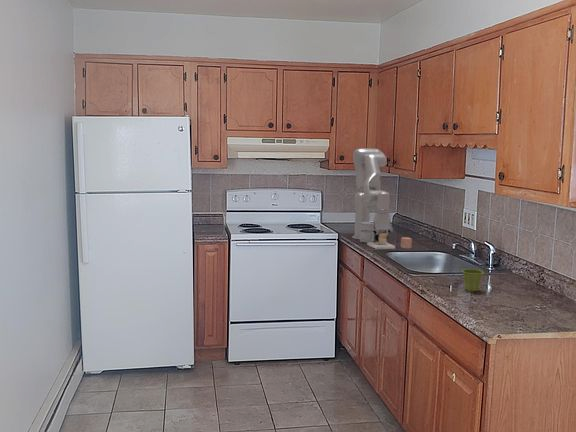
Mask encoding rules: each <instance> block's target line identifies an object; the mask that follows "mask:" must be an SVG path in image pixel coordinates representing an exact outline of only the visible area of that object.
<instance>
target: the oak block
mask: <svg viewBox="0 0 576 432" xmlns="http://www.w3.org/2000/svg"><path fill="white" fill-rule="evenodd" d="M378 235H379V238H378V241H376V240H375V242H378V243H388V239H387V233H385V231H379V233H378Z"/></svg>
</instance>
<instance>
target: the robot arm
mask: <svg viewBox="0 0 576 432" xmlns="http://www.w3.org/2000/svg"><path fill="white" fill-rule="evenodd" d="M352 162H353V164H354V165H353V166H354V168H355V182H356V183H355V184H356V188H357V189H359V190H360V191H357V192H356V193H355V195H354V204H355V211H354V212H355V214H354V215H355V218H354V219H355V220H354V235H352V236H351V238H352V239H354V240H360V231H361V223H362V222H370V217H371V214H370V213H371V212H370V210H369V208H368V206H373V207H374V206H376V213H374V217H373V222H372V223H373V226H372V227H371V230H372V231H373V232H374V241H375V242H376V241H378V238H379V235H378V233H379V232H380V231H383V232H385V233H387V240H388V238H389V234H390V233H391V232H392V231H394V228H393V226H392V225H391V214H390V213H391V212H392V210H391V209H390V193H389V192H388V191H386V190H381V179H380V178H381V175H382V174H381V169H380V168H384V167H386V166H387V163H388V162H387V157H386V155H385V154H384V152H383V151H381V149H378V148H367V147H366V148H364V147H363V148H362V147H360V148H356V149H355V150H354V151H353V154H352ZM361 190H362V191H361ZM374 229H375V230H374Z"/></svg>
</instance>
